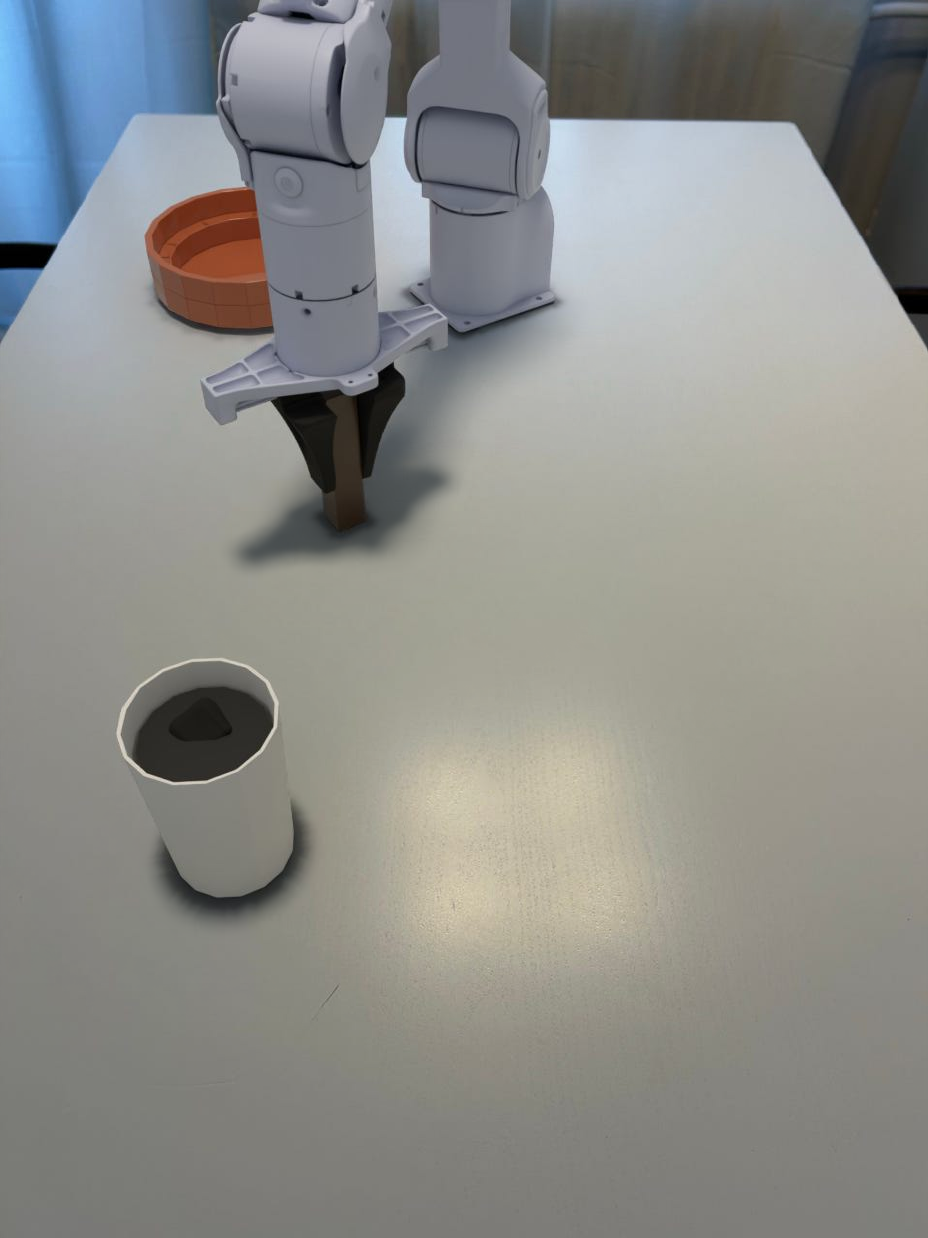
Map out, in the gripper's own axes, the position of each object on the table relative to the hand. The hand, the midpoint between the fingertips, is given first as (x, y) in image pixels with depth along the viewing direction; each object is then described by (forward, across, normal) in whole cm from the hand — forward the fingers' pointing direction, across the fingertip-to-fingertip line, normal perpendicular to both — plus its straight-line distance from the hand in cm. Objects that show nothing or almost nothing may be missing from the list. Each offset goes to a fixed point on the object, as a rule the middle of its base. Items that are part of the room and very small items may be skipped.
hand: (340, 476), depth 64 cm
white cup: (+4, -16, -18) cm, 24 cm away
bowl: (+3, +8, +30) cm, 31 cm away
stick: (+3, 0, 0) cm, 3 cm away
